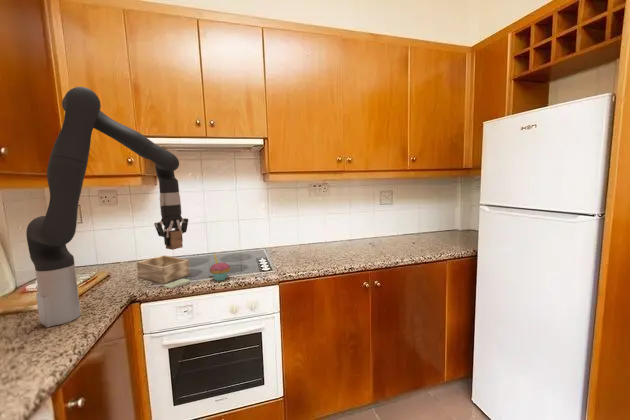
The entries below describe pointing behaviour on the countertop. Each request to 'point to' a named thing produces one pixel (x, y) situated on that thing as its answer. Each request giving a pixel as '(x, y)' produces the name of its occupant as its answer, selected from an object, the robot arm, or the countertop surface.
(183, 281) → the mat
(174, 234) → the walnut block
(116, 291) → the countertop surface
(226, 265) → the cupcake
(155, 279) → the crate
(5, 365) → the countertop surface
